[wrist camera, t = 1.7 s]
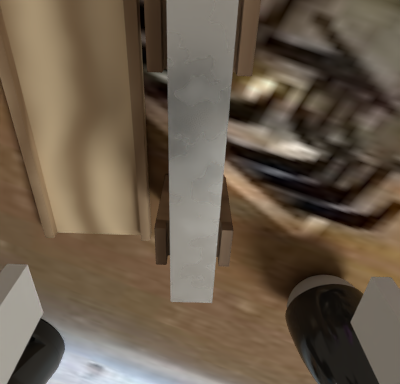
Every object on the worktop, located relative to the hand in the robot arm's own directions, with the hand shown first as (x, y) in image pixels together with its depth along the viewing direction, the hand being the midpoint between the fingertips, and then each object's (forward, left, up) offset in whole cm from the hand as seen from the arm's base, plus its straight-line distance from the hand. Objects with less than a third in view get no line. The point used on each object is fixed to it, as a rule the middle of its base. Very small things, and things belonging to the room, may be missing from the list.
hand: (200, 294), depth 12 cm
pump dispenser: (+17, -23, -21) cm, 35 cm away
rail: (0, 0, -13) cm, 13 cm away
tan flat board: (-11, 0, -21) cm, 24 cm away
